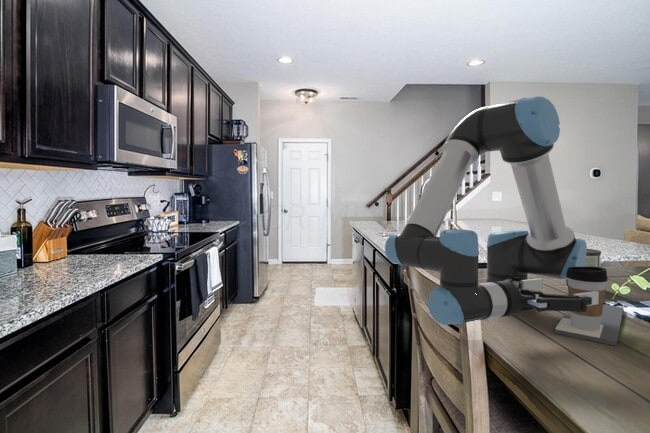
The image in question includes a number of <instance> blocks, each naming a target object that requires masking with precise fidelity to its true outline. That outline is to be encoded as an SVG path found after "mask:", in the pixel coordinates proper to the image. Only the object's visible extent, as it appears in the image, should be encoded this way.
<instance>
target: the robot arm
mask: <svg viewBox="0 0 650 433" xmlns="http://www.w3.org/2000/svg"><path fill="white" fill-rule="evenodd" d="M559 125H560V118H559V114H558V112H557V109H556V107H555V105H554V104H553V102H552V101H551V100H550V99H548V98H546V97H544V96H540V95H539V96H531V97H522V98H520V99H515V100H511V101H507V102H501V103H497V104H494V105H489V106H483V107H480V108H478V109H475V110H473V111H471V112H470V113H468V114H467V115H466V116H465V117H464V118H462V119H461V120H460V121H459V122H458V123H457V124H456V126H455V127H454V128H453V129H452V130H451V132H449V134H448V136H447V137H446V139H445V141H444V142H443V145H442V146H441V152H442V155H441V157H440V159H439V161H438V163H437V165H436V166H435V169H434V171H433V172H432V174H431V176H430V178H429V180H428V181H427V184H426V186H425V187H424V190H423V191H422V193H421V196H420V197H419V199H418V201H417V203H416V205H415V207H414V208H413V210H412V212H411V215H410V217H409V219H408V221H407V223H406V225H405V226H404V228H403V229H402V232H396V233H392V234H391V235H389V236H388V237H387V239H386V241H385V245H384V250H385V251H384V252H385V256H386V258H387V259H388V260H389V262H391V263H394V264H397V265H399V266H403V267H412V268H415V269H417V268H418V269H423V270H427V271H432V272H437V273H439V276H440V277H439V287H436V288H434V289H432V290H431V291H430V292H429V296H428V297H427V307H428V311H429V314H430V316H431V317H432V319H433V320H434V321H435V322H436V323H438V324H440V325H442V326H443V325H446V326H447V325H461V324H464V323H471V322H476V321H475V320H477V321H484V322H487V321H488V320H489V319H497V318H503V317H511V316H515V315H517V314H519V313H520V312H521V311H522V310H526V309H531V308H535V310H536V311H537V312H551V311H552V312H567V311H577V312H587V306H590V305H596V304H598V300H599V292H597V291H593V292H586V293H578V294H574V296H570V295H566V294H554V293H544V292H543V291H541V290H544V278H541V277H548V278H553V279H559V280H566V279H568V278H567V277H566V273H567V270H568V268H569V267H584V264H585V259H586V253H587V249H588V248H587V242H586V240H585V239H582V238H576V237H575V232H574V230H573V229H572V228H571V227H570V226H567V225H566V222H565V221H566V220H565V218H564V214H563V210H562V206H561V201H560V198H559V194H558V188H557V184H556V180H555V177H554V173H553V168H552V164H551V159H550V156H549V154H550V152H551V151H552V150H553V149H554V147H555V143H556V142H558V139H559V137H560V133H561V128H560V126H559ZM495 151H497V152H498V151H499V152H500V155H501V157H502V158H501V159H502V160H503V162H505V163H507V164H509V165H510V166H511V169H512V173H513V176H514V180H515V184H516V186H517V190H518V191H517V192H518V194H519V197H520V200H521V205H522V208H523V211H524V215H525V217H526V222H527V225H528V229H529V231H528V230H527V229H525V230H524V229H523V230H522V229H521V230H507V231H497V232H491V233H490V234H489V235H488V237H487V244H486V259H487V260H486V279H485V282H480V283H479V255H480V250H479V235H478V233H477V232H475V231H474V230H471V229H463V228H462V229H454V228H453V229H452V228H451V229H442V230H441V232H440V233H439V231H440V229H441V226H442V224H443V223H444V220H445V218H446V216H447V214H448V212H449V210H450V208H451V206H452V204H453V202H454V200H455V198H456V196H457V193H458V191H459V189H460V187H461V185H462V183H463V181H464V179H465V177H466V174H467V173H468V171H469V168H470V166H471V165H474V164H475V163H476V162H477V161H478V159H479V157H480V155H482V154H484V153H488V152H495ZM438 233H439V236H437V235H438ZM528 274H529V275H537V276H541V277H539V278H532V279H531V278H528ZM475 293H476V294H477V295H476V294H475ZM536 295H538V296H536ZM470 321H471V322H470Z"/></svg>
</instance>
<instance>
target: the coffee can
mask: <svg viewBox="0 0 650 433" xmlns="http://www.w3.org/2000/svg"><path fill="white" fill-rule="evenodd" d="M601 254H602V250H599V249H594V248H593V249H592V248H587V253H586V259H585V264H584V267H601ZM565 288H566V289H568V279H565Z"/></svg>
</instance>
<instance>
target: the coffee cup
mask: <svg viewBox="0 0 650 433" xmlns="http://www.w3.org/2000/svg"><path fill="white" fill-rule="evenodd" d="M566 277H567V278H568V288H567V294H568V295H570V296H574V294H578V293H586V292H593V291H597V292H599V300H598V304H596V305H590V306H587V312H577V311H570V317H571V325H572V326H573V327H575V328H578V329H582V330H587V331H597V330H599V329H600V323H601V315H602V310H603V305H604V301H605V296H606V282H608V281H609V280H608V278H609V277H608V272H607V268H604V267H601V266H600V267H569V268H568V270H567V273H566Z"/></svg>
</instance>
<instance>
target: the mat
mask: <svg viewBox="0 0 650 433" xmlns="http://www.w3.org/2000/svg"><path fill="white" fill-rule="evenodd" d="M623 313H624V307H622V306H615V305H609V304H603V310H602V315H601V323H600V329H599V330H597V331H587V330H582V329H578V328H575V327H573V326H572V325H571V317H570V311H565V314H564V315H563V316H562V318H561V319H560V321H559V323H558V324H557V325H556V327H555V328H554V329H555V330H554V333H555V334H558V335H563V336H567V337H573V338H577V339H582V340H586V341H592V342H596V343H597V342H598V343H601V344H607V345H612V346H617V344H618V339H619V334H620V329H621V324H622V319H623Z"/></svg>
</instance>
